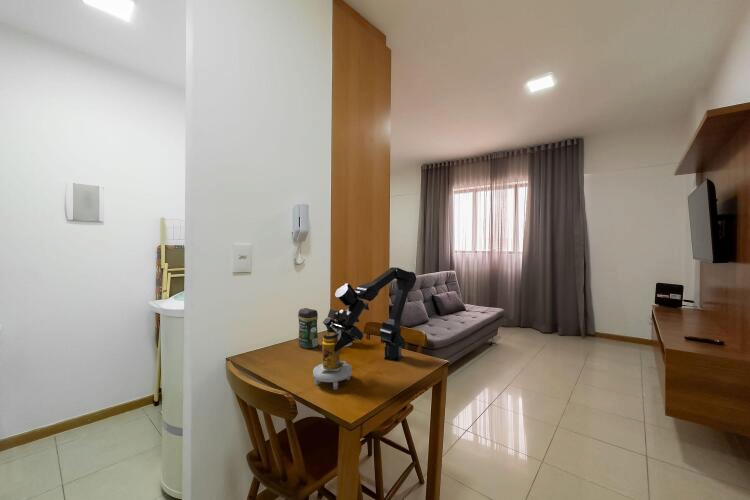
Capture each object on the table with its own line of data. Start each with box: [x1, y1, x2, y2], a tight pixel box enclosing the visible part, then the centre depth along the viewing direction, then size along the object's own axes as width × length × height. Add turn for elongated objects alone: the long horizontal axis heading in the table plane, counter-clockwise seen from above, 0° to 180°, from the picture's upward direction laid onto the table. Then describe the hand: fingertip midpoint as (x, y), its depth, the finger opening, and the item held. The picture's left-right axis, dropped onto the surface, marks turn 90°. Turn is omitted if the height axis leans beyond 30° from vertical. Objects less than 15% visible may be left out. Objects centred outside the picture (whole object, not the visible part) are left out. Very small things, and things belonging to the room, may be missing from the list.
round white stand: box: [312, 362, 353, 391], centre depth 108 cm, size 14×14×4 cm
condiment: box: [319, 332, 347, 371], centre depth 108 cm, size 7×8×12 cm
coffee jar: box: [297, 307, 319, 350], centre depth 146 cm, size 10×8×19 cm
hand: (329, 348), depth 107 cm, fingers closed on condiment, 6 cm apart
